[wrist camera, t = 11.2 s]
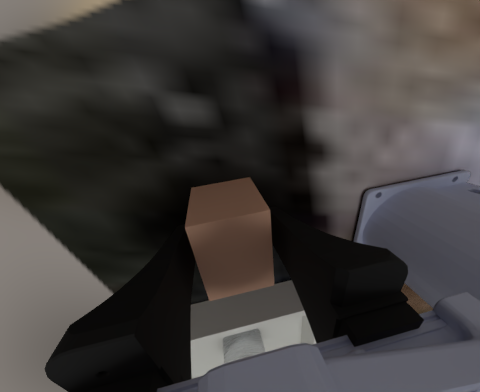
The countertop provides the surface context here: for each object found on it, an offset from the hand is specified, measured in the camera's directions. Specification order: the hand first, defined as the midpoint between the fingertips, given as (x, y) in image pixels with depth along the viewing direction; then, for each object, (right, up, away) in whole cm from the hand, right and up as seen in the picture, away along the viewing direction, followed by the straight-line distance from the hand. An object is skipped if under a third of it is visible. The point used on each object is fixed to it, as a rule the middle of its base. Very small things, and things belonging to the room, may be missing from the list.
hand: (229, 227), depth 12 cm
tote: (+1, -14, +9) cm, 16 cm away
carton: (0, +1, +1) cm, 2 cm away
